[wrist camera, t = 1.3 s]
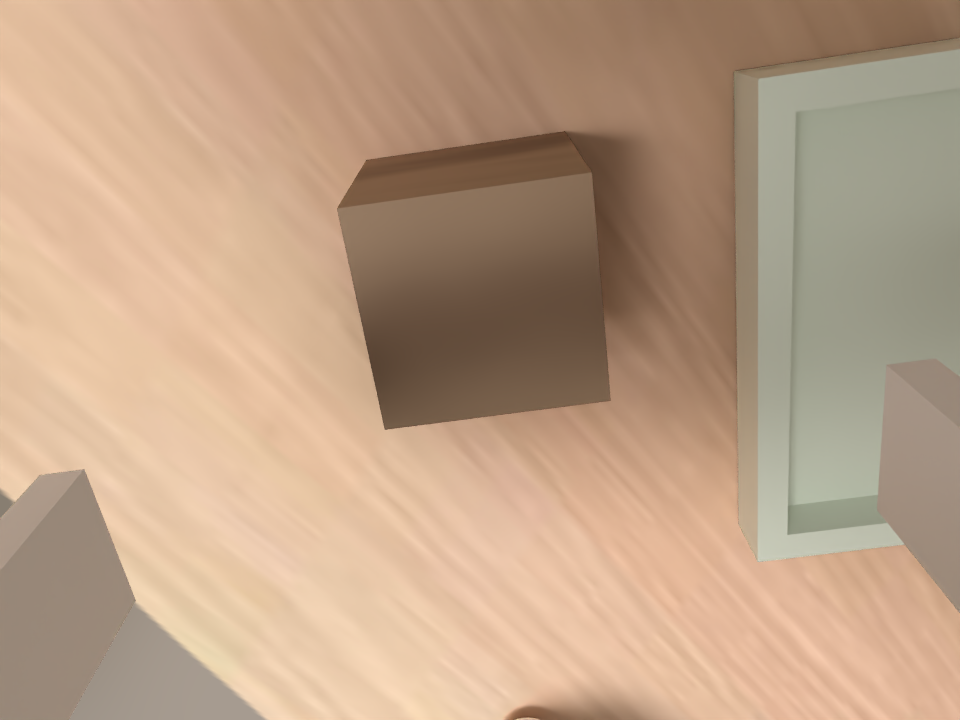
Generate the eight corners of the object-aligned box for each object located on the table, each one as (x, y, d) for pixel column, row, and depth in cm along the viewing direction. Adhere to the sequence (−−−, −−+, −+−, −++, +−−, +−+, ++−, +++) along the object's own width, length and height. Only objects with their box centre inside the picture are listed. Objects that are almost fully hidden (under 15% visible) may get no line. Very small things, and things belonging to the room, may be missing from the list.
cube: (366, 159, 25) (337, 208, 19) (564, 131, 24) (592, 172, 19) (402, 340, 27) (384, 429, 22) (582, 316, 27) (610, 400, 21)
